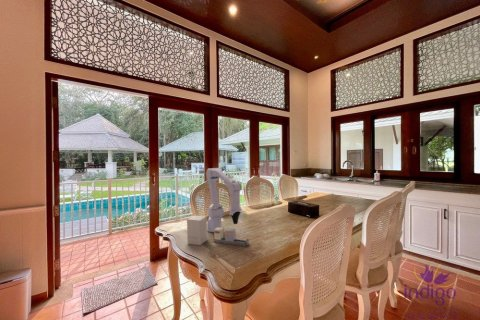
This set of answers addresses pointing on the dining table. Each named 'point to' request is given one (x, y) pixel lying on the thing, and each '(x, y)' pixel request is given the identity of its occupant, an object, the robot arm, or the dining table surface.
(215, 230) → the beige rectangular block
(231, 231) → the block
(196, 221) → the supplement box
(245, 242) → the rail
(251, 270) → the dining table surface
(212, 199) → the robot arm
